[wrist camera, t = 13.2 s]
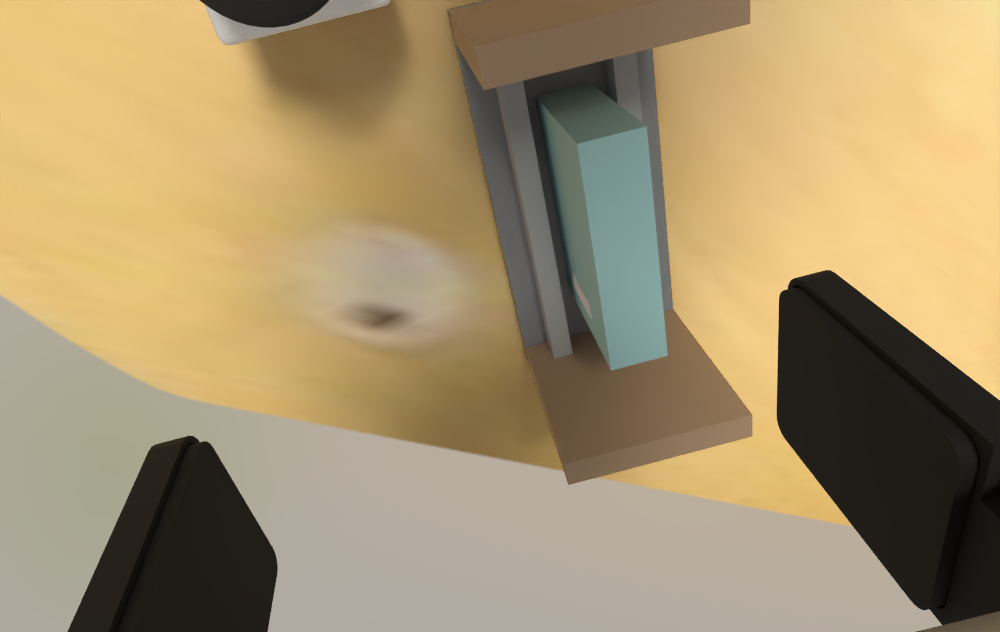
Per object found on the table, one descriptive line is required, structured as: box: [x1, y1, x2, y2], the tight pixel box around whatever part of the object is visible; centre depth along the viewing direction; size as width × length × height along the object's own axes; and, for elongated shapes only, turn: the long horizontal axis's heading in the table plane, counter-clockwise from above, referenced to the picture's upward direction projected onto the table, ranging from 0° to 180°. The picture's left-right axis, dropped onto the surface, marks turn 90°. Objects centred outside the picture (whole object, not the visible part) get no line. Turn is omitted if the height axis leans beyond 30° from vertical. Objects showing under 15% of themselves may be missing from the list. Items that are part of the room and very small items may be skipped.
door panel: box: [535, 83, 668, 371], centre depth 35 cm, size 12×3×9 cm, turn 12°
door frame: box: [447, 0, 752, 485], centre depth 34 cm, size 22×10×12 cm, turn 12°
